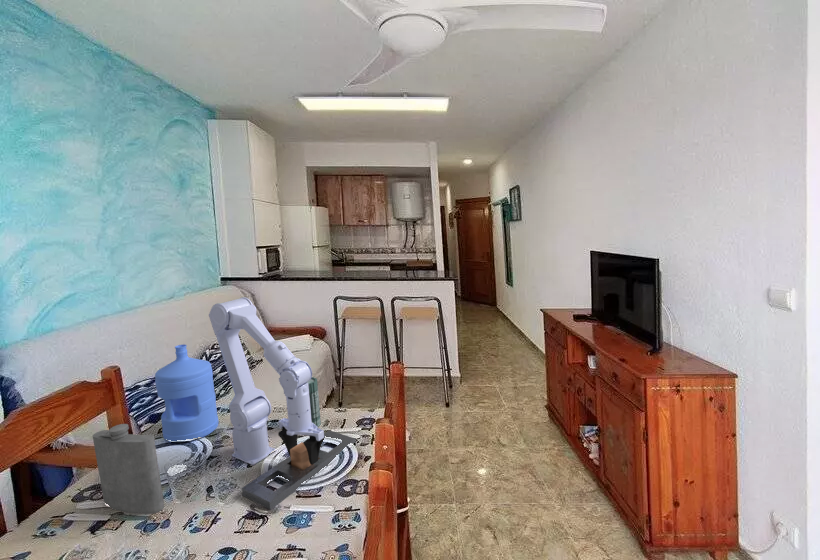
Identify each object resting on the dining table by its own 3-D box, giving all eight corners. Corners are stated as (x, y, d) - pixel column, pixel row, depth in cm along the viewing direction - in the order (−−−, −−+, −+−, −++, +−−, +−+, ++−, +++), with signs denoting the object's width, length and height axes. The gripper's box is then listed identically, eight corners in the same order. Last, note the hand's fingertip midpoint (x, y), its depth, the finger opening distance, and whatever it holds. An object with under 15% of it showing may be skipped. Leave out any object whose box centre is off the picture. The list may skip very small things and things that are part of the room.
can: (306, 420, 133) (303, 376, 131) (323, 422, 131) (320, 377, 129) (297, 429, 127) (292, 384, 125) (314, 431, 125) (310, 385, 123)
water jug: (194, 416, 139) (184, 337, 135) (229, 422, 134) (220, 340, 129) (151, 439, 125) (138, 352, 121) (189, 448, 119) (176, 356, 115)
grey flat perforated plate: (242, 495, 97) (241, 488, 97) (329, 436, 122) (329, 430, 122) (270, 509, 92) (269, 501, 91) (355, 444, 117) (355, 438, 117)
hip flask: (167, 505, 95) (155, 424, 92) (152, 517, 91) (139, 434, 88) (113, 496, 99) (100, 419, 96) (97, 508, 95) (83, 428, 92)
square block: (292, 470, 106) (289, 449, 105) (303, 462, 109) (301, 442, 108) (302, 475, 104) (300, 453, 103) (314, 467, 107) (312, 445, 106)
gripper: (267, 410, 105) (272, 458, 107) (307, 422, 97) (312, 474, 99) (288, 399, 111) (293, 445, 113) (328, 410, 103) (332, 459, 105)
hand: (303, 458), depth 107 cm, fingers open, 7 cm apart
